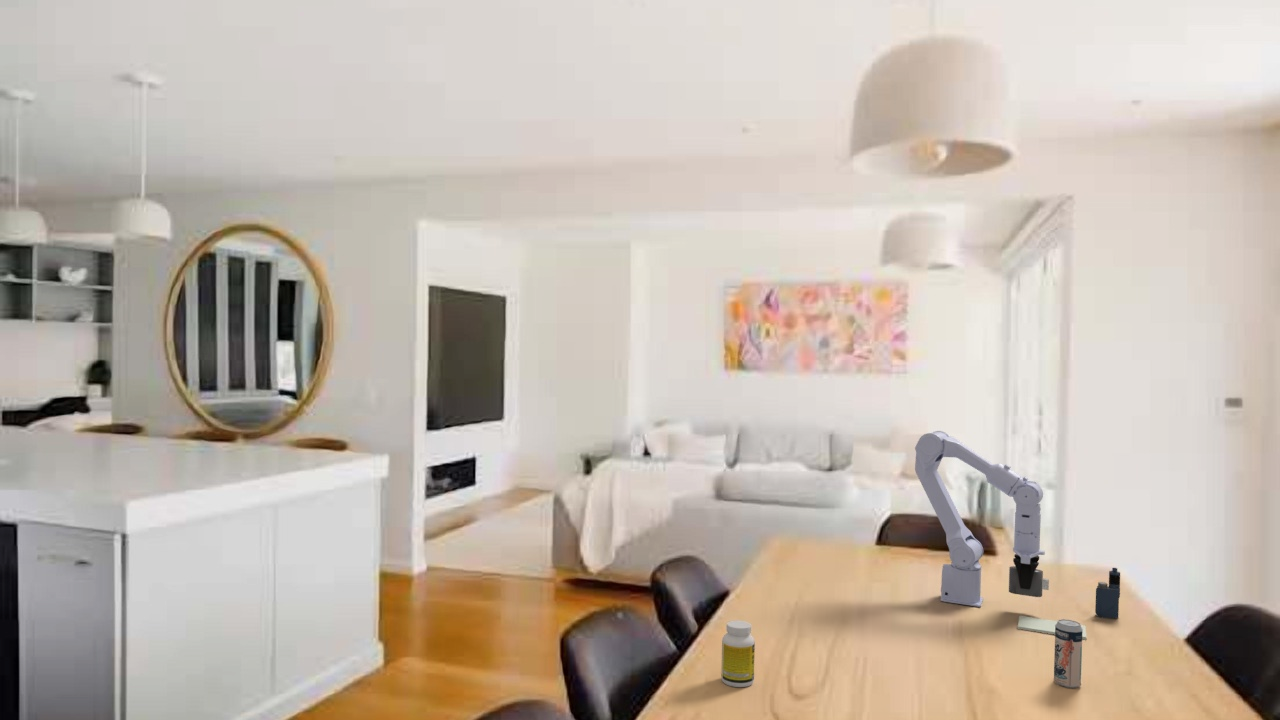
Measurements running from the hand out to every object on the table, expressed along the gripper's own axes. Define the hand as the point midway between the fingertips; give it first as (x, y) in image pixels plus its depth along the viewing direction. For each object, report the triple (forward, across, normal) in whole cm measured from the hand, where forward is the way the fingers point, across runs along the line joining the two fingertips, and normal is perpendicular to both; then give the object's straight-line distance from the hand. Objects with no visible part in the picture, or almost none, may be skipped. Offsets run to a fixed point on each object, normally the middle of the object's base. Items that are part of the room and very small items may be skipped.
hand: (1025, 586), depth 203 cm
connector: (+2, 0, 0) cm, 2 cm away
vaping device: (+6, +7, -18) cm, 20 cm away
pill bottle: (+7, -76, +47) cm, 90 cm away
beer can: (+6, -45, -9) cm, 46 cm away
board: (+6, -10, -6) cm, 13 cm away
